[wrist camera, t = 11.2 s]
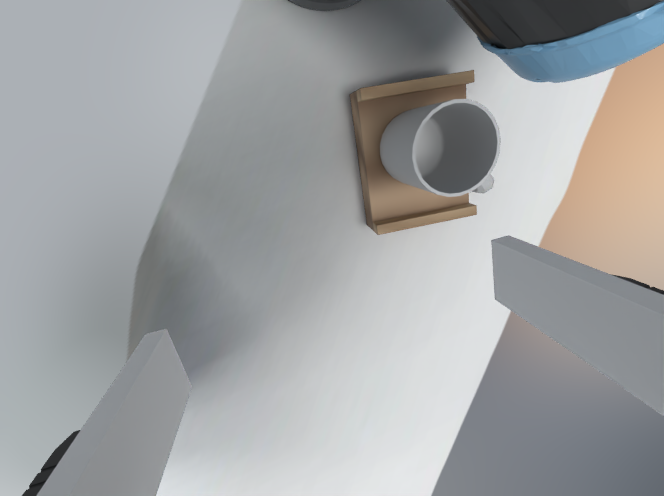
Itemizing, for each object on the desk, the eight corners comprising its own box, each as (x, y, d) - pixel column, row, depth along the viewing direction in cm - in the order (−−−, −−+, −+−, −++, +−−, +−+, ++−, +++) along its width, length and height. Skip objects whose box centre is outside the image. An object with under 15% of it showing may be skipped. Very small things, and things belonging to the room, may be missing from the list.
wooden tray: (349, 94, 34) (360, 88, 30) (450, 78, 35) (474, 70, 31) (366, 224, 39) (377, 235, 35) (455, 206, 40) (476, 214, 36)
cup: (406, 93, 32) (453, 76, 24) (477, 153, 35) (540, 157, 27) (364, 157, 33) (393, 163, 25) (435, 210, 36) (483, 231, 28)
